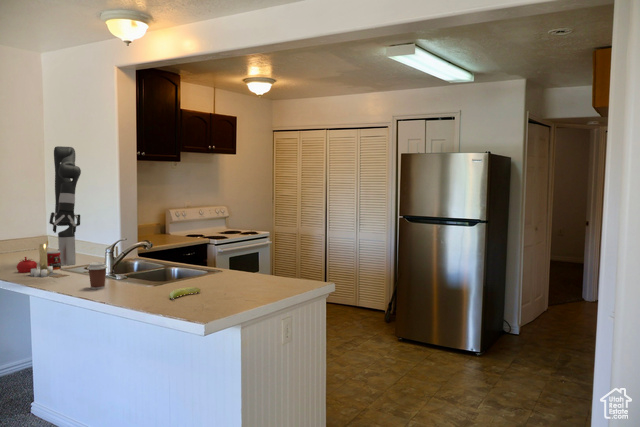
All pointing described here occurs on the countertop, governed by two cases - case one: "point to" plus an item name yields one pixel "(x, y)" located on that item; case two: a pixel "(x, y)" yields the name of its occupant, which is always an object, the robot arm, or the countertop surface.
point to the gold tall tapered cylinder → (43, 257)
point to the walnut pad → (59, 275)
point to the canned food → (54, 259)
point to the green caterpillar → (183, 291)
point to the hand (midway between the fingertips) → (64, 233)
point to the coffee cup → (97, 274)
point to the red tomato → (26, 266)
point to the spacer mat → (42, 272)
